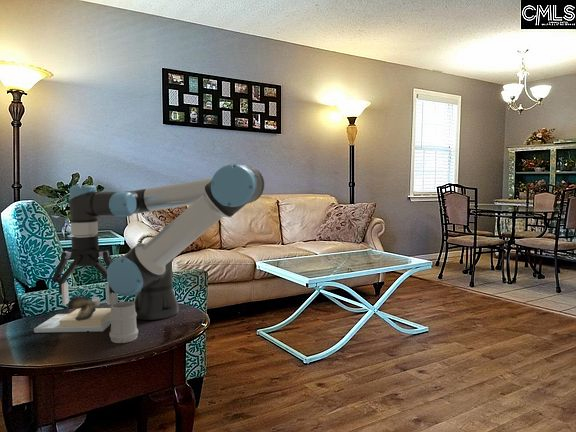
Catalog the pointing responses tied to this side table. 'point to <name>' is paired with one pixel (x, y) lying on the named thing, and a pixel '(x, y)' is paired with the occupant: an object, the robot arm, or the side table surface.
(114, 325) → the mug
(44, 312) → the side table surface
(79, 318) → the eagle figurine
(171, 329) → the side table surface
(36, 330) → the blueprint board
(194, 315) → the side table surface
